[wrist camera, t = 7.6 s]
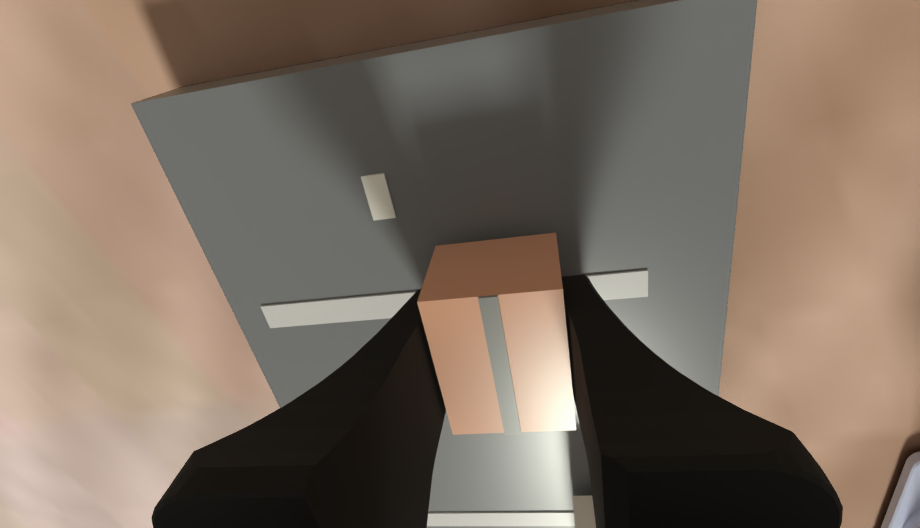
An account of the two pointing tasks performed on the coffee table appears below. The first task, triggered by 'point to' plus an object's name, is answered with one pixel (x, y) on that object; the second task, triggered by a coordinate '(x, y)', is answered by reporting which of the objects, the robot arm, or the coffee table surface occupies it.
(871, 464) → the coffee table surface
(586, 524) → the block
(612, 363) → the robot arm
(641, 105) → the console
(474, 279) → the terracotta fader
